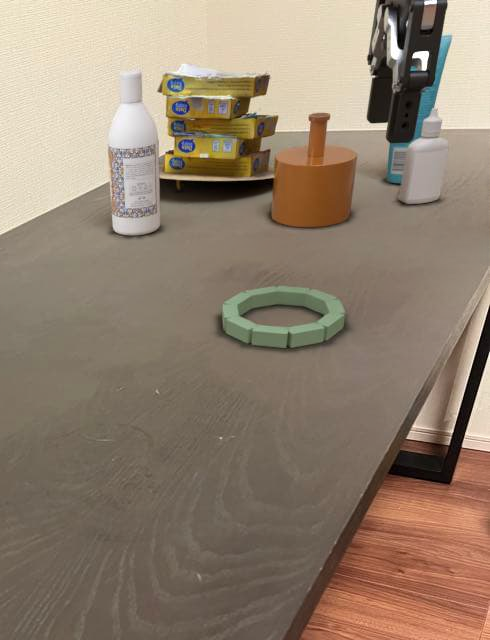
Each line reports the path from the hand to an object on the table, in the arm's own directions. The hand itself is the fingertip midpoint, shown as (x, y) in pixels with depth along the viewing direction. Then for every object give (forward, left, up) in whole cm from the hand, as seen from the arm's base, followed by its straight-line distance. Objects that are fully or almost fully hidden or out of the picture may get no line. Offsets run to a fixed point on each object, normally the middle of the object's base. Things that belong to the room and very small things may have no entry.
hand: (388, 131), depth 71 cm
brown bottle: (0, -40, -19) cm, 44 cm away
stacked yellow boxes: (+14, -60, -19) cm, 64 cm away
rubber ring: (+8, -3, -19) cm, 21 cm away
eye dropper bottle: (-16, -44, -19) cm, 50 cm away
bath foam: (+25, -38, -19) cm, 49 cm away
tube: (-16, -55, -19) cm, 60 cm away
